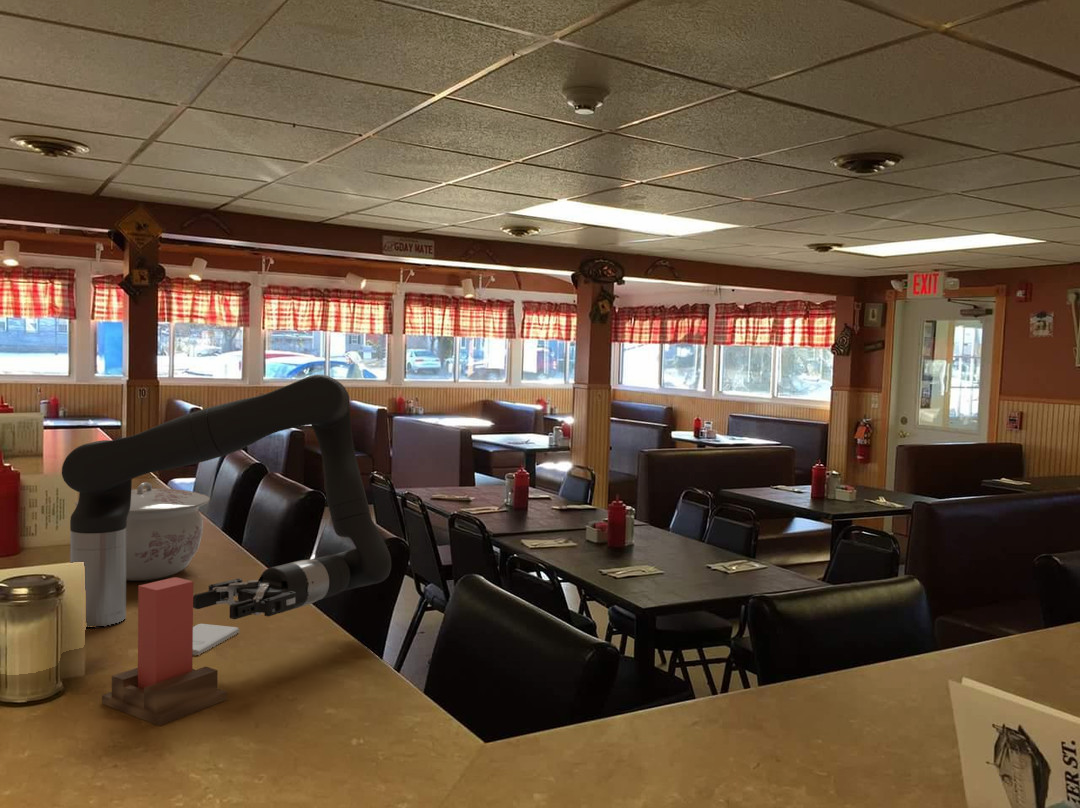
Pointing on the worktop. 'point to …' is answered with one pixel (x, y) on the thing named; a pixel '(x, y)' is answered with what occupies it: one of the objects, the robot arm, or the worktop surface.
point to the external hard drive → (210, 636)
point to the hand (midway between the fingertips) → (212, 607)
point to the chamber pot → (161, 531)
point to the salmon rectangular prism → (164, 630)
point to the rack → (165, 695)
